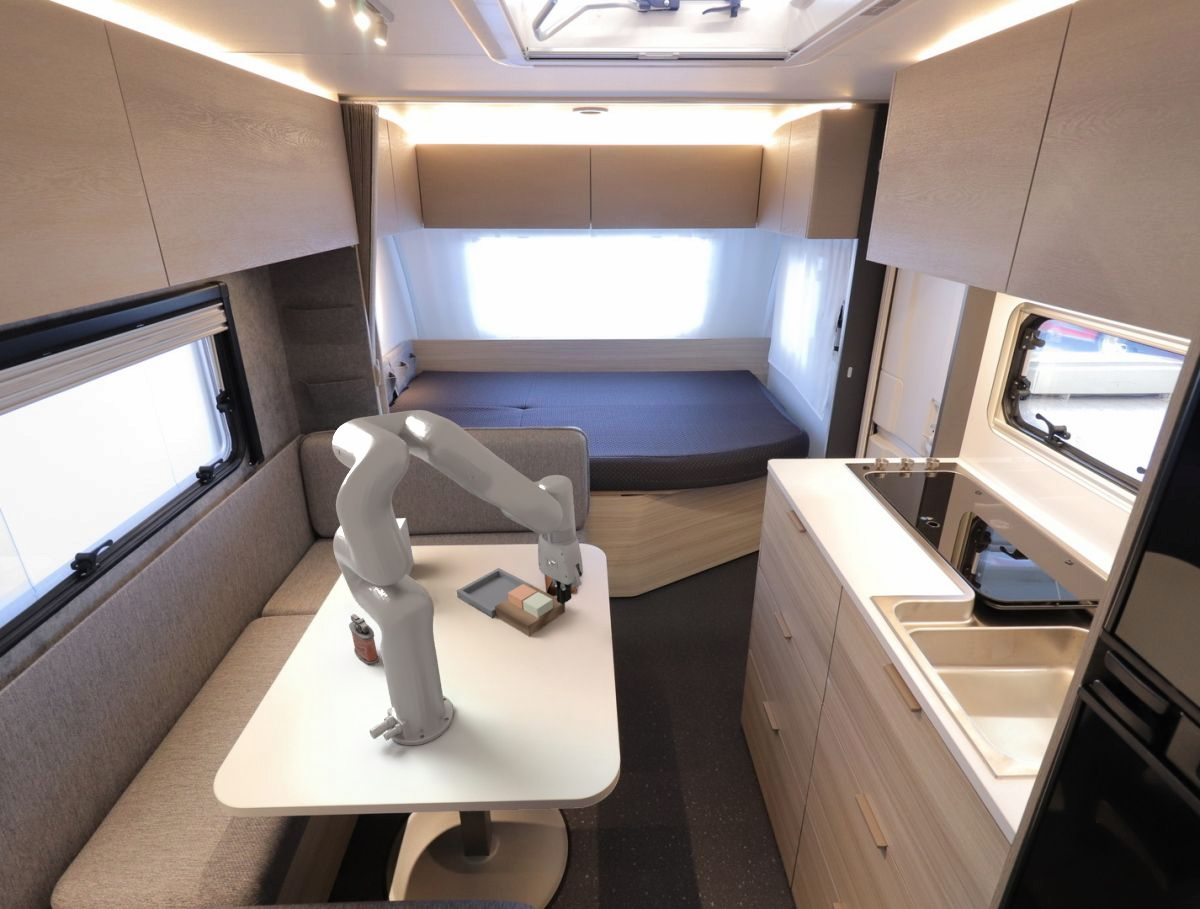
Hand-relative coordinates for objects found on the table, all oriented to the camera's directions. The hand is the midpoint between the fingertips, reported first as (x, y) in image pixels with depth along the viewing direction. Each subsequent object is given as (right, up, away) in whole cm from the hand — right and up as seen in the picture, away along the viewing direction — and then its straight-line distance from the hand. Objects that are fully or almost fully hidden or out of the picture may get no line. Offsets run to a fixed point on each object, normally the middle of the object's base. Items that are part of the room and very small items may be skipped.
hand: (564, 600), depth 142 cm
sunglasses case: (-3, 0, +26) cm, 26 cm away
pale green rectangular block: (-7, -4, +7) cm, 10 cm away
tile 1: (-11, -3, +10) cm, 15 cm away
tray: (-19, -3, +18) cm, 26 cm away
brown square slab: (-9, -6, +10) cm, 15 cm away
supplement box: (-49, 0, +29) cm, 57 cm away
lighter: (-44, -12, -3) cm, 46 cm away
